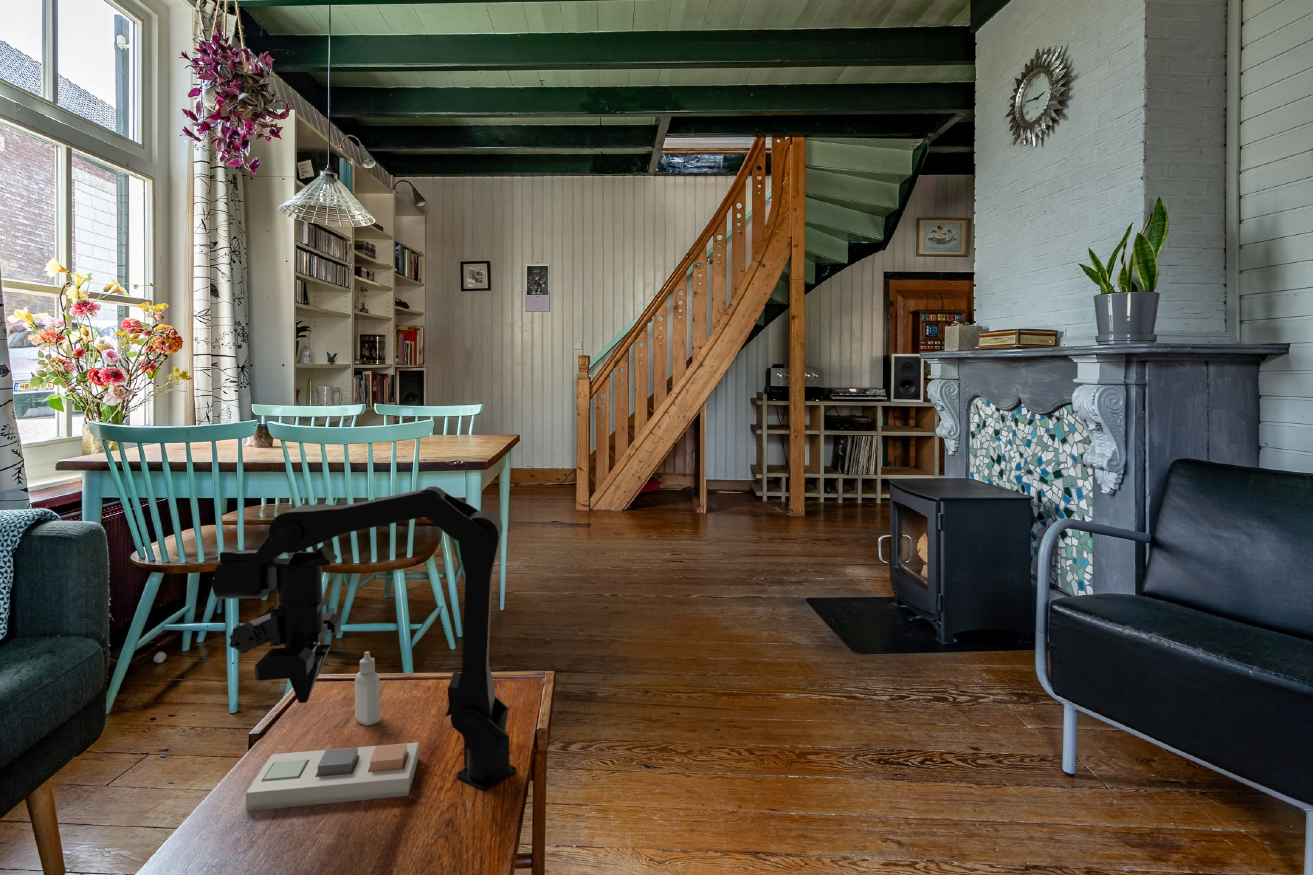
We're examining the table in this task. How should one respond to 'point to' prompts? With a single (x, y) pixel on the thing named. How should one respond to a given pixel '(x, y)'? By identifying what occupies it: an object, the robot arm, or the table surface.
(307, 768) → the keypad frame
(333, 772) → the charcoal key
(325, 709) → the table surface
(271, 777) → the sage key
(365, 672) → the eye dropper bottle
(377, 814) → the table surface
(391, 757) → the terracotta key
